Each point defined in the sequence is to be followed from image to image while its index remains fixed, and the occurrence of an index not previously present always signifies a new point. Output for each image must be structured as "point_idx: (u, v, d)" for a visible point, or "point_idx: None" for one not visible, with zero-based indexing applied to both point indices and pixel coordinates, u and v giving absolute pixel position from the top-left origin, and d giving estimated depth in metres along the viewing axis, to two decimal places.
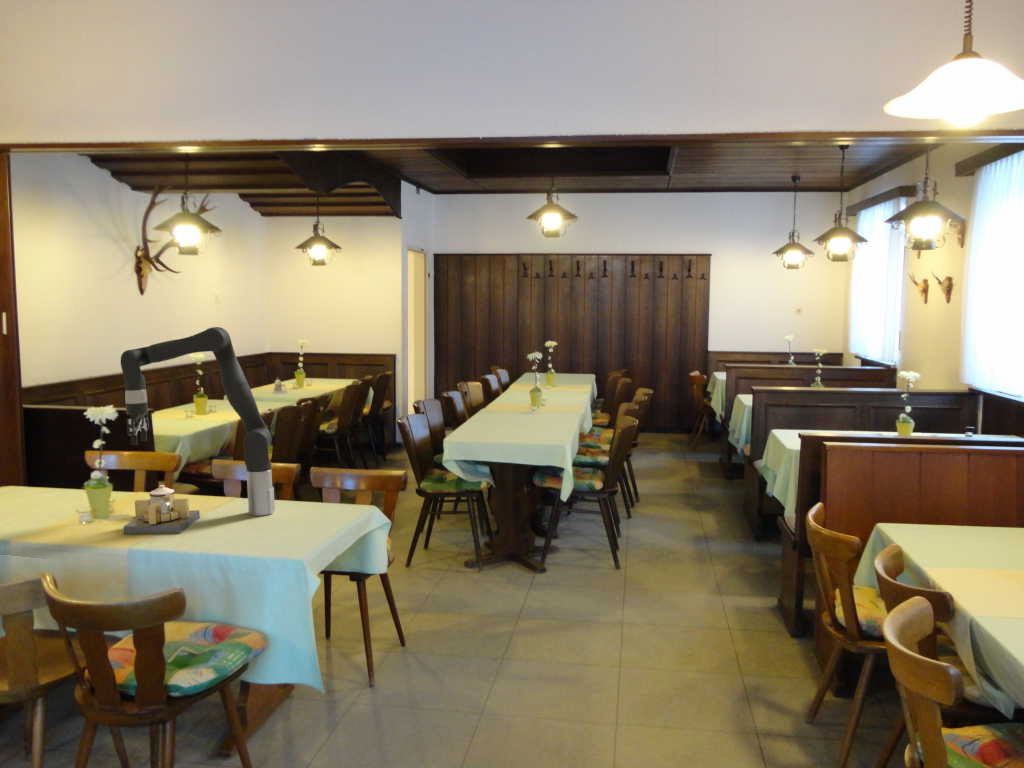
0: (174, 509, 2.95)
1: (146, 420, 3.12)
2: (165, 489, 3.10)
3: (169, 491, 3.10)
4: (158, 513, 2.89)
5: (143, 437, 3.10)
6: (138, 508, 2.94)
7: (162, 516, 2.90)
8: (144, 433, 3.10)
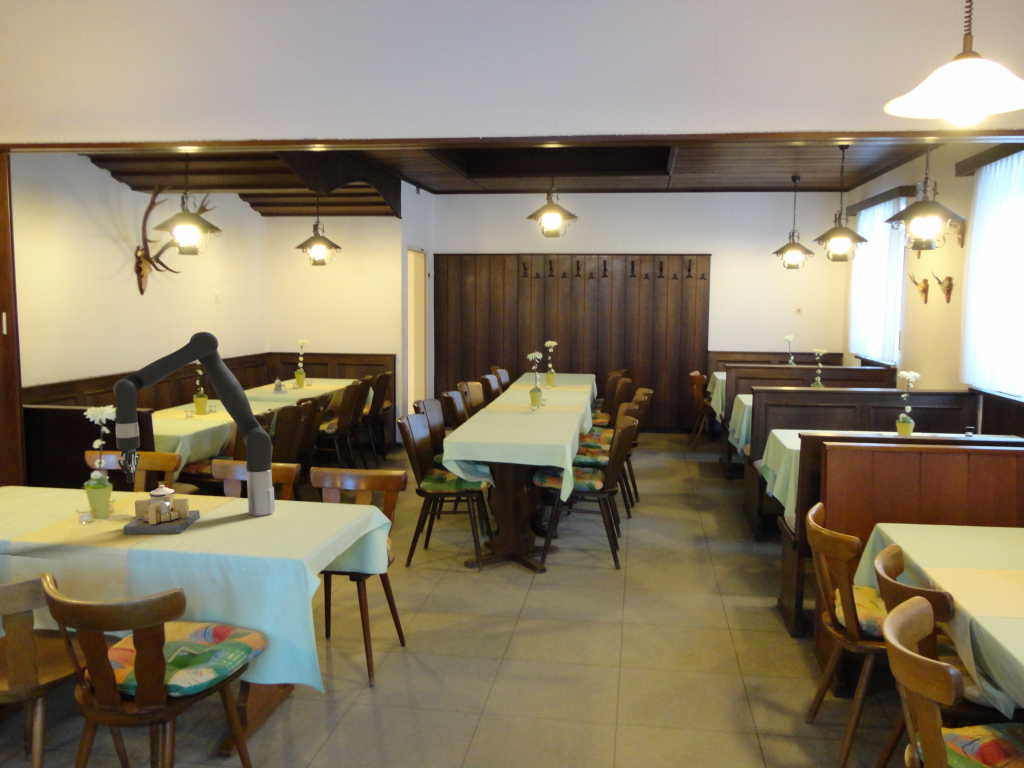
0: (174, 509, 2.95)
1: (136, 459, 2.91)
2: (165, 489, 3.10)
3: (169, 491, 3.10)
4: (158, 513, 2.89)
5: None
6: (138, 508, 2.94)
7: (162, 516, 2.90)
8: None
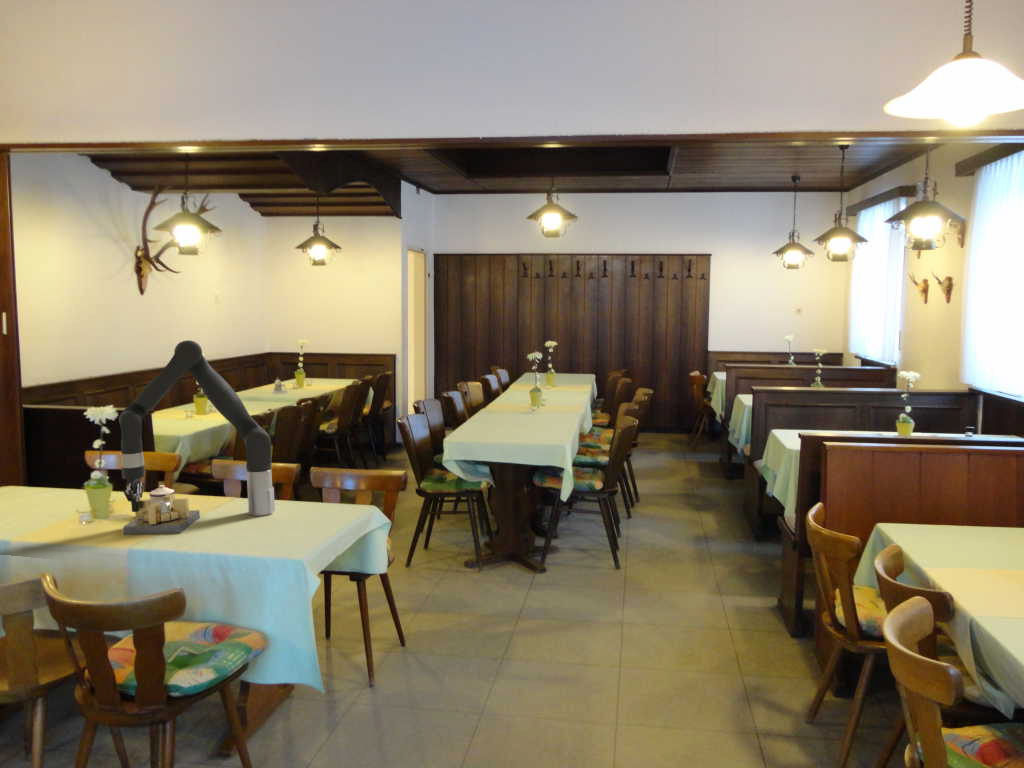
0: (174, 509, 2.95)
1: (141, 488, 2.95)
2: (165, 489, 3.10)
3: (169, 491, 3.10)
4: (158, 513, 2.89)
5: None
6: None
7: (162, 516, 2.90)
8: None
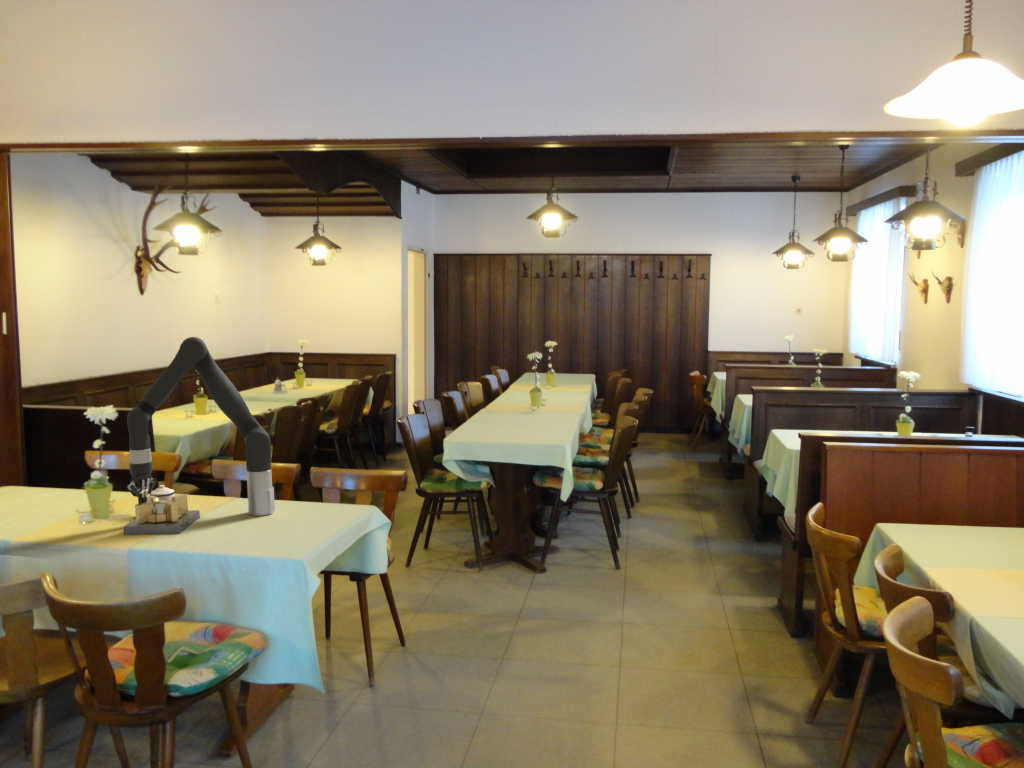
0: (165, 511, 2.92)
1: (151, 484, 3.00)
2: (165, 489, 3.10)
3: (169, 491, 3.10)
4: (146, 513, 2.90)
5: None
6: None
7: (149, 516, 2.90)
8: None
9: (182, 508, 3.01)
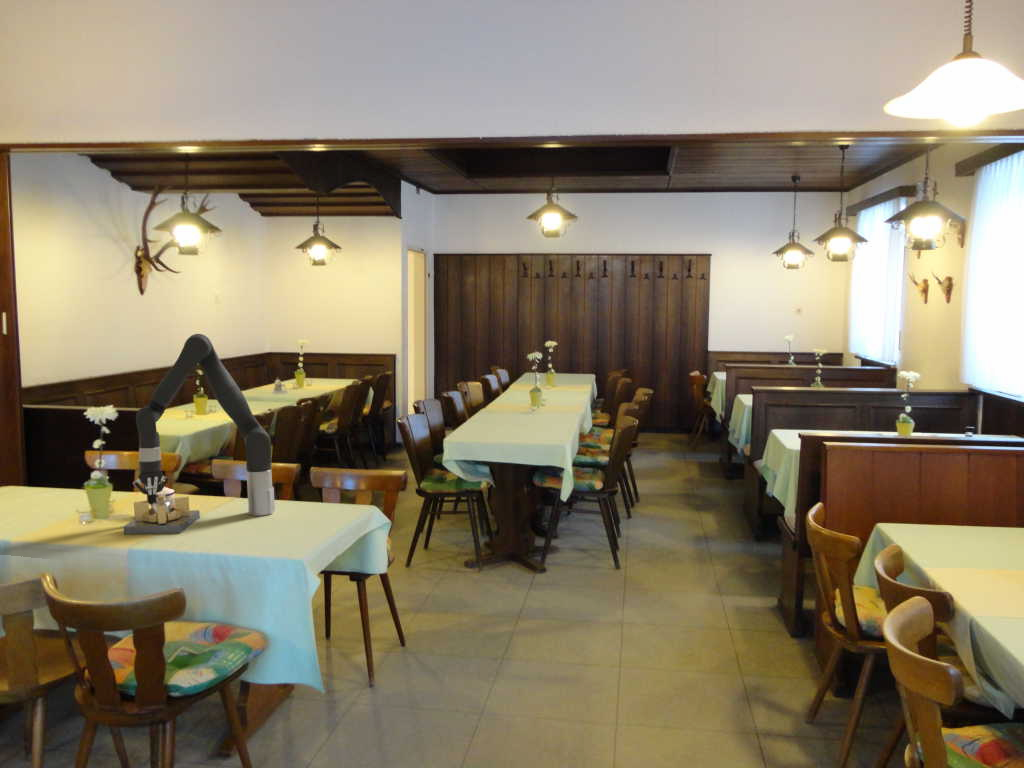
0: None
1: (162, 483, 3.02)
2: (165, 489, 3.10)
3: (169, 491, 3.10)
4: (142, 511, 2.92)
5: None
6: None
7: (144, 515, 2.91)
8: None
9: (183, 510, 2.98)
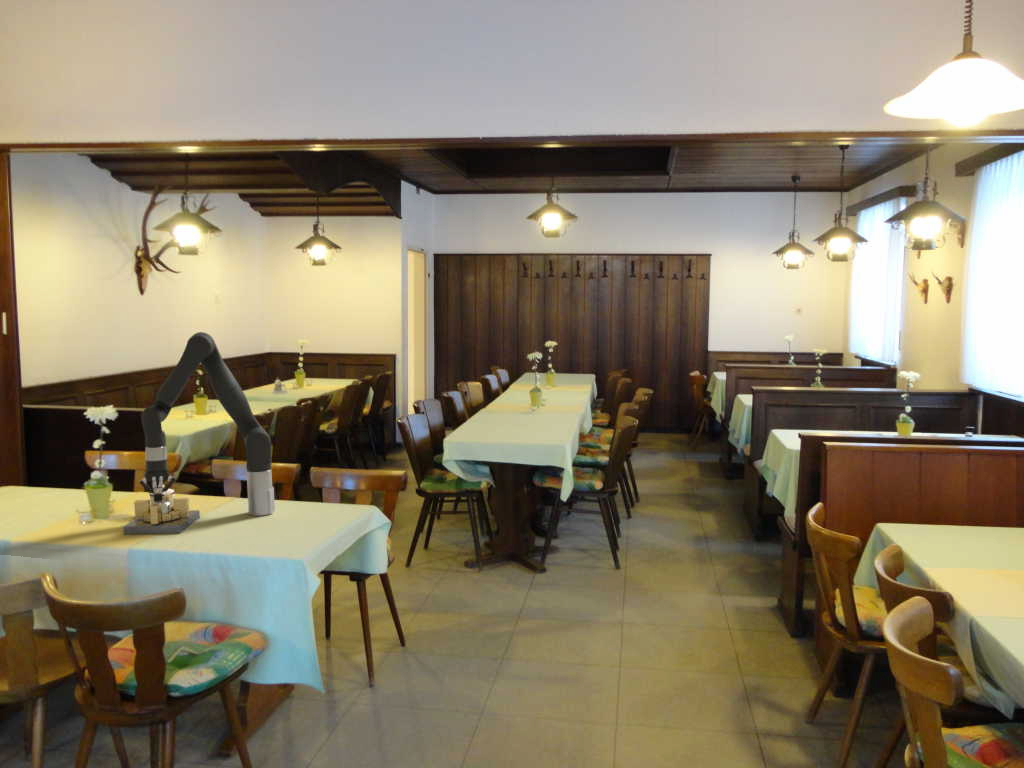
0: None
1: (169, 482, 3.03)
2: None
3: (169, 491, 3.10)
4: (142, 510, 2.94)
5: None
6: None
7: (142, 514, 2.93)
8: None
9: (181, 512, 2.95)
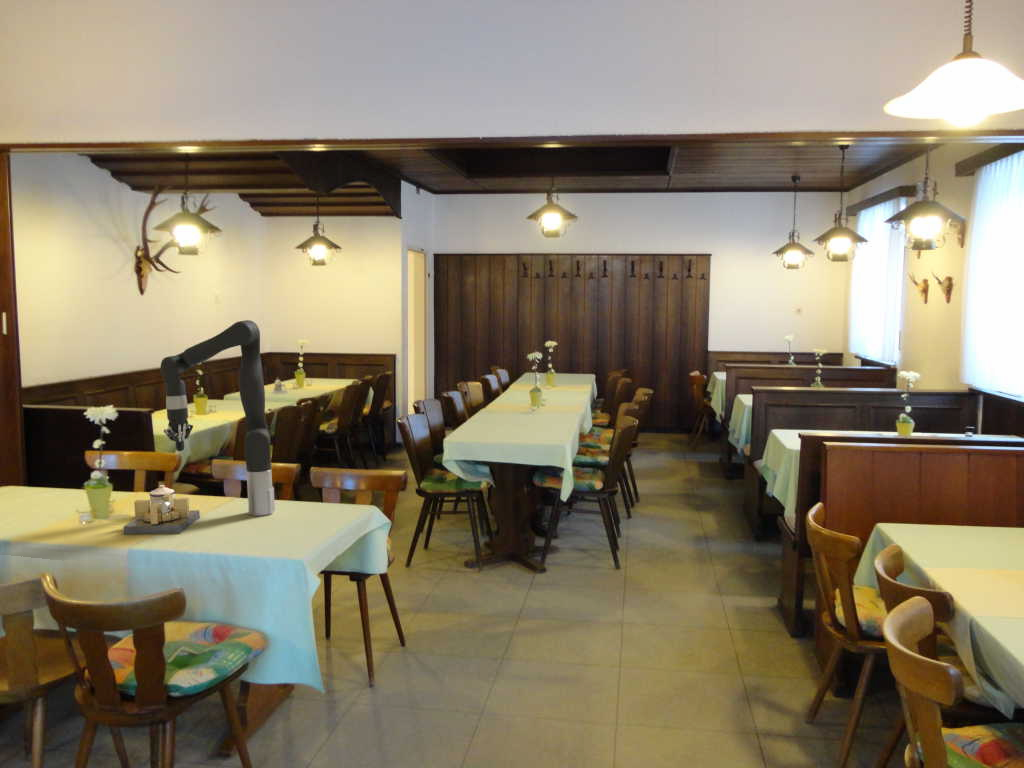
0: None
1: (188, 429, 3.15)
2: (165, 489, 3.10)
3: (169, 491, 3.10)
4: (142, 510, 2.94)
5: None
6: None
7: (142, 514, 2.93)
8: None
9: (181, 512, 2.95)
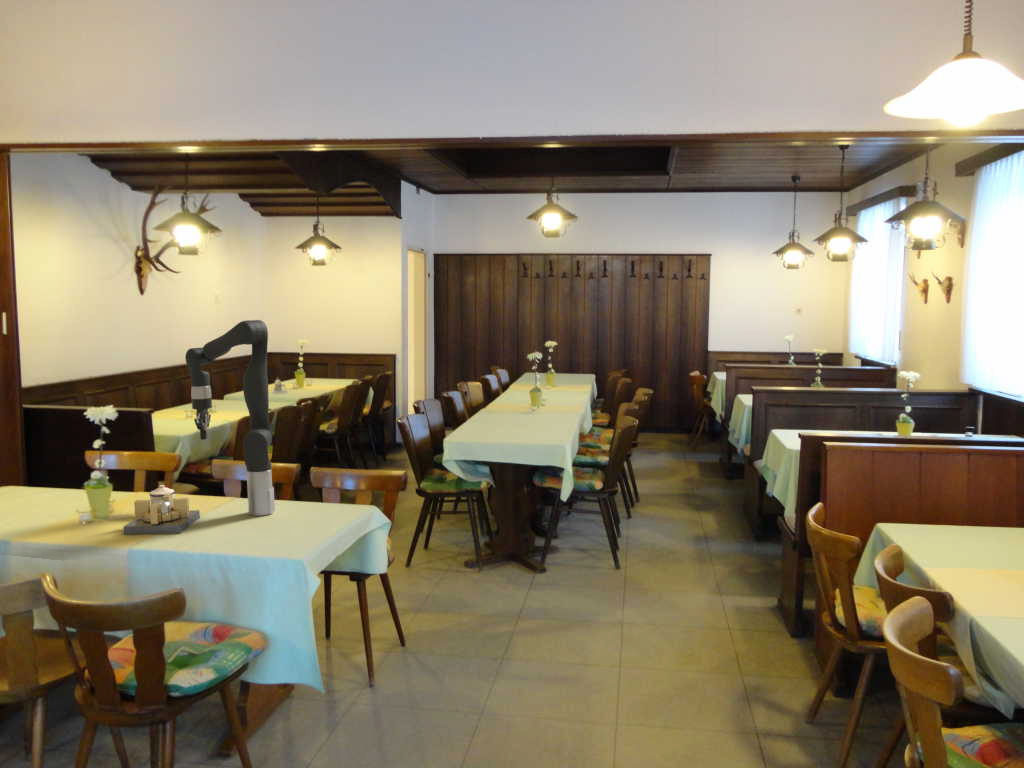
0: None
1: (208, 419, 3.28)
2: (165, 489, 3.10)
3: (169, 491, 3.10)
4: (142, 510, 2.94)
5: None
6: None
7: (142, 514, 2.93)
8: None
9: (181, 512, 2.95)
